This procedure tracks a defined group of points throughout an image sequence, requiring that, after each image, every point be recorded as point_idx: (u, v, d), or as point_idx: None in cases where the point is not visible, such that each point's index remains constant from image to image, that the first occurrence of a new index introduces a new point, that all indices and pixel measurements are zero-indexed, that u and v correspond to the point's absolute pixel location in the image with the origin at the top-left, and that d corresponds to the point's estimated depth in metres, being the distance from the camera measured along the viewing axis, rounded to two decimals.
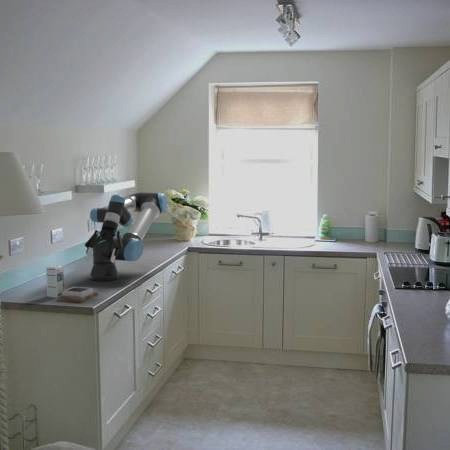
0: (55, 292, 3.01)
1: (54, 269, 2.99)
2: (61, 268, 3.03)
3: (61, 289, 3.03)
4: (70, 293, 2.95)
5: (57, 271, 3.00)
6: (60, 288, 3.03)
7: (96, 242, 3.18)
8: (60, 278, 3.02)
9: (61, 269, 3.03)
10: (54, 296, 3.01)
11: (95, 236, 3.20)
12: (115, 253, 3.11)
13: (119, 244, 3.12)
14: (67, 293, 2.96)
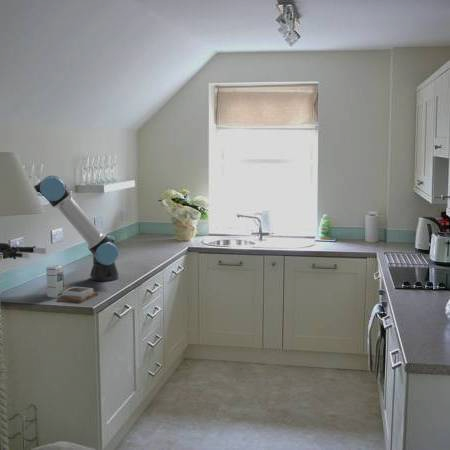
0: (55, 292, 3.01)
1: (54, 269, 2.99)
2: (61, 268, 3.03)
3: (61, 289, 3.03)
4: (70, 293, 2.95)
5: (57, 271, 3.00)
6: (60, 288, 3.03)
7: (25, 250, 3.12)
8: (60, 278, 3.02)
9: (61, 269, 3.03)
10: (54, 296, 3.01)
11: None
12: (19, 256, 2.99)
13: None
14: (67, 293, 2.96)
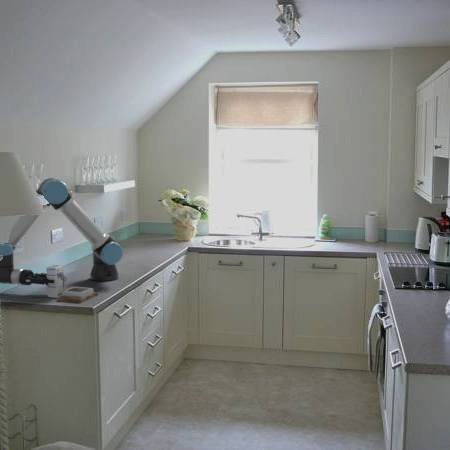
0: (55, 292, 3.01)
1: (54, 269, 2.99)
2: (61, 268, 3.03)
3: (61, 289, 3.03)
4: (70, 293, 2.95)
5: (57, 271, 3.00)
6: (60, 288, 3.03)
7: (47, 278, 3.07)
8: (60, 278, 3.02)
9: (61, 269, 3.03)
10: (54, 296, 3.01)
11: None
12: (52, 282, 2.99)
13: (41, 283, 2.99)
14: (67, 293, 2.96)
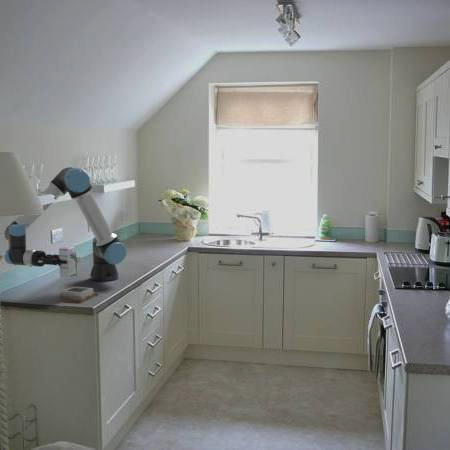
0: (68, 273, 2.96)
1: (67, 249, 2.95)
2: (74, 249, 2.99)
3: (73, 270, 2.99)
4: (70, 293, 2.95)
5: (70, 252, 2.96)
6: (73, 269, 2.98)
7: None
8: None
9: (74, 250, 2.99)
10: (67, 277, 2.97)
11: None
12: (64, 263, 2.95)
13: (53, 264, 2.95)
14: (67, 293, 2.96)
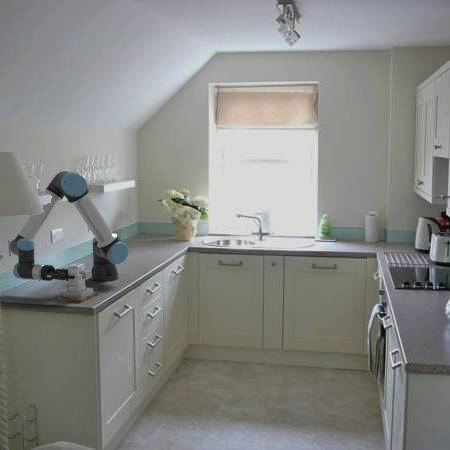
0: (77, 291, 2.97)
1: (76, 267, 2.95)
2: (83, 266, 2.99)
3: (83, 288, 2.99)
4: (70, 293, 2.95)
5: (79, 269, 2.96)
6: (82, 286, 2.99)
7: None
8: (82, 276, 2.98)
9: (83, 267, 2.99)
10: None
11: None
12: (72, 278, 2.94)
13: (61, 279, 2.94)
14: (67, 293, 2.96)
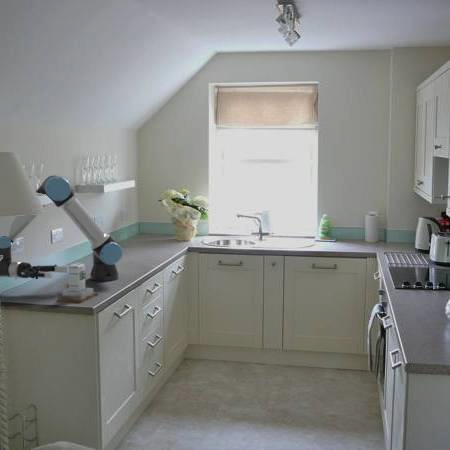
0: (78, 291, 2.97)
1: (77, 267, 2.95)
2: (83, 266, 2.99)
3: (83, 288, 2.99)
4: (70, 293, 2.95)
5: (80, 269, 2.96)
6: (82, 287, 2.99)
7: (46, 269, 3.10)
8: (83, 276, 2.98)
9: (83, 267, 2.99)
10: None
11: None
12: (42, 276, 2.96)
13: (32, 277, 2.97)
14: (67, 293, 2.96)
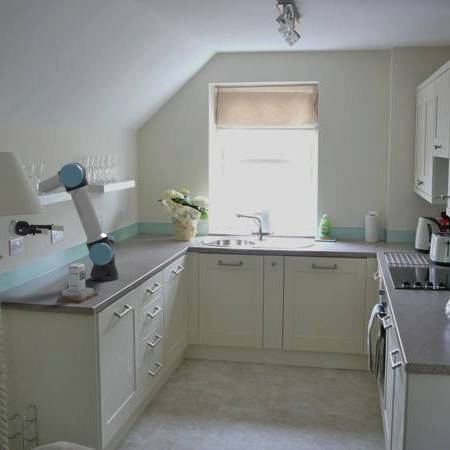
0: (78, 291, 2.97)
1: (77, 267, 2.95)
2: (83, 266, 2.99)
3: (83, 288, 2.99)
4: (70, 293, 2.95)
5: (80, 269, 2.96)
6: (82, 287, 2.99)
7: (43, 228, 3.21)
8: (83, 276, 2.98)
9: (83, 267, 2.99)
10: None
11: None
12: (39, 233, 3.08)
13: (29, 233, 3.08)
14: (67, 293, 2.96)
